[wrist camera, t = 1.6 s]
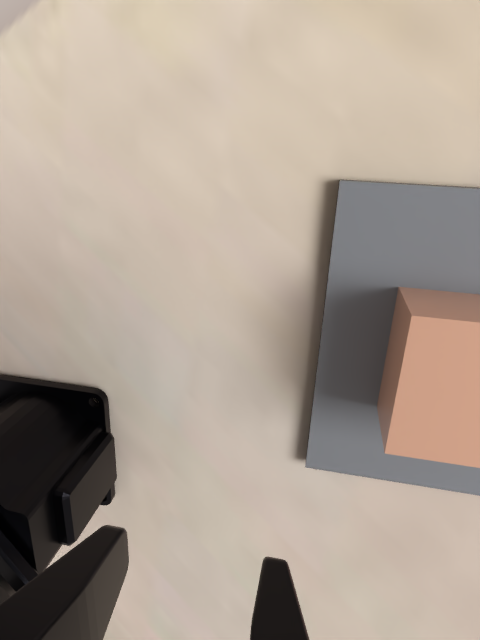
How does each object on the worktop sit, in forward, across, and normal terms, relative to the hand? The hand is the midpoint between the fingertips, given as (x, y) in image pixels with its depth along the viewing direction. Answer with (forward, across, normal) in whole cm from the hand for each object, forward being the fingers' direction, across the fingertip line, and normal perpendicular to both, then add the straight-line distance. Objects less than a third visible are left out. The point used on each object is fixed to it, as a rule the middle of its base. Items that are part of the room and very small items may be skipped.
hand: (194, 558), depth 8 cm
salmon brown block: (+10, -7, 0) cm, 13 cm away
